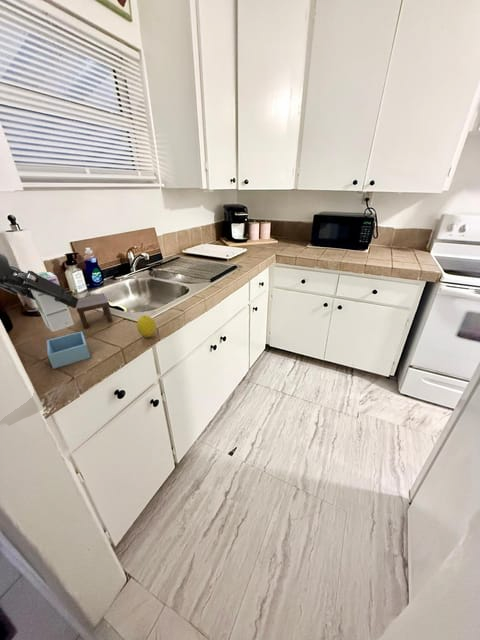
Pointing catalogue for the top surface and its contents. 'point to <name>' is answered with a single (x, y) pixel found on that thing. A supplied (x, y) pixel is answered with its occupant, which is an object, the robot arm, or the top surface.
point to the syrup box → (52, 307)
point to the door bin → (67, 349)
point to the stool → (93, 307)
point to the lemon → (146, 326)
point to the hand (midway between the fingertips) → (62, 302)
